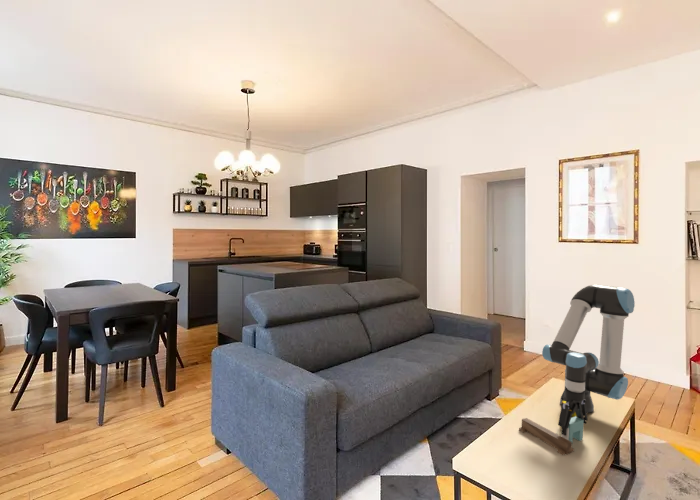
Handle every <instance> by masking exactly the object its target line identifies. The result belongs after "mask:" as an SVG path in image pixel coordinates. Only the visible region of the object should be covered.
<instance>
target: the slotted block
mask: <svg viewBox="0 0 700 500" xmlns="http://www.w3.org/2000/svg"><path fill="white" fill-rule="evenodd" d="M583 422H584V420H583V419H580V418H578V417H576V416H575V417H572V418H571V420H570V423H569V426H568V428H569V441H571V442H572V443H573V439H575V440H577V441H583V439H584V427H583Z"/></svg>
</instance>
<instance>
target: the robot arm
mask: <svg viewBox="0 0 700 500" xmlns="http://www.w3.org/2000/svg"><path fill="white" fill-rule="evenodd" d="M635 303H636V302H635V295H634V294H633V292H632V291H631V290H630V289H629V288H625V287H619V286H612V285H611V286H608V285H601V284H590V285H587V286H584V287H583V288H581V289H580V290H579V291H577V292H576V293H575V294H574V295H573V296H572V298H571V300H570V307H569V309H568V311H567V313H566V315H565V317H564V319H563V322H562V324H561V325H560V327H559V329H558V332H557V334H556V336H555V337H554V339H553V342H552V343H551V344H545V345H544V346H543V348H542V351H541V352H542V354H541V356H542V357H543V359H544V360H545V361H549V362H551V363H554V364H559V365H563V366H565V369H564V389H563V392H562V394H561V396H560V398H559V403H560V406H561V408H560V414H559V417H558V423H557V425H558V426H559V427H560V428H561V437H563V438H565V439H567V440H569V428H568V426H569V423H570V420H571V417H572V414H574V412H576V415H577V417H578V418H580V419H583V420H584V422H583V428H584V427H585V425H586V424H587V421H588V414H589V413H593V412H594V410H595V409H594V407H595V406H594V403H593V398H592V396H591V393H594V394H597V395H600V396H604V397H605V398H608V399H613V400H618V401H619V400H621V399H622V398H623V397H624V396H625V394H626V392H627V390H628V385H629V380H628V379H629V378H628V377H626V376H624V375H625V373H624V371H623V370H622V368H621V363H622V352H623V339H624V330H625V329H624V327H625V319H627V318H628V317H629V315H630V314H633V312H634V311H635V306H636V305H635ZM594 308H596V309H599V314H600V315H601V316H602V327H601V328H602V329H601V341H600V350H599V354H600V355H599V359H598V357H597V356H596V355H595V354H594V353H592V352H589V351H588V352H583V353H582V352H579V351H575V350H570V348H571V347H572V345H573V343H574V342H575V339H576V337H577V334H578V333H579V330H580V329H581V326H582V324H583V322H584V320H585V317H586V316H587V314H588V313H590V312H591V311H592V309H594ZM562 401H566V403H565V404H564V403H562ZM568 409H569V410H568ZM570 410H571V411H570Z"/></svg>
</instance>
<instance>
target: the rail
mask: <svg viewBox="0 0 700 500" xmlns="http://www.w3.org/2000/svg"><path fill="white" fill-rule="evenodd" d="M518 431H520V432H521V433H528V434H530V435H531V436H534V437H535V438H537V439H539V440H540V441H542V442H544V443H545V444H547V445H549V446H550V447H553V448H554V449H556V450H557V451H556V452H557V454H559V455H561V456H565V455H570V454H571V453H572V452H574V450H575V449H574V448H573V447H572V445H573V442H571V441H569V440H567V439H565V438H563V437H562V435H560V434H557V433H556V432H554V431H552V430H550V429H548V428H546V427H544V426H543V425H541V424H539V423H538V422H535V421H533V420H531V419H529V418H528V417H525V418H522V419H521V427H518Z"/></svg>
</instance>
